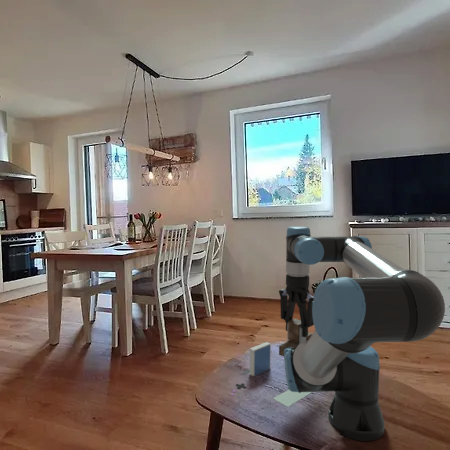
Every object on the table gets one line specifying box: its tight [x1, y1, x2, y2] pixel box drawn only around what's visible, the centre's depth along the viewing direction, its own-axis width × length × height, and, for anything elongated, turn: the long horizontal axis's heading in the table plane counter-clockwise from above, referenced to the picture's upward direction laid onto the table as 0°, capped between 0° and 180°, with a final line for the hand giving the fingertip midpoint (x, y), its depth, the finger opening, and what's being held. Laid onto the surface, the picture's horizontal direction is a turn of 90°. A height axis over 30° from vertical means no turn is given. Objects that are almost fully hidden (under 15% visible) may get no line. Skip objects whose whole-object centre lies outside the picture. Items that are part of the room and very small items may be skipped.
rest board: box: [273, 389, 313, 408], centre depth 116 cm, size 6×19×1 cm, turn 131°
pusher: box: [278, 318, 313, 357], centre depth 116 cm, size 4×16×9 cm, turn 133°
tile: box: [249, 341, 272, 377], centre depth 129 cm, size 2×9×10 cm, turn 131°
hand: (296, 343), depth 116 cm, fingers closed on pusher, 4 cm apart
